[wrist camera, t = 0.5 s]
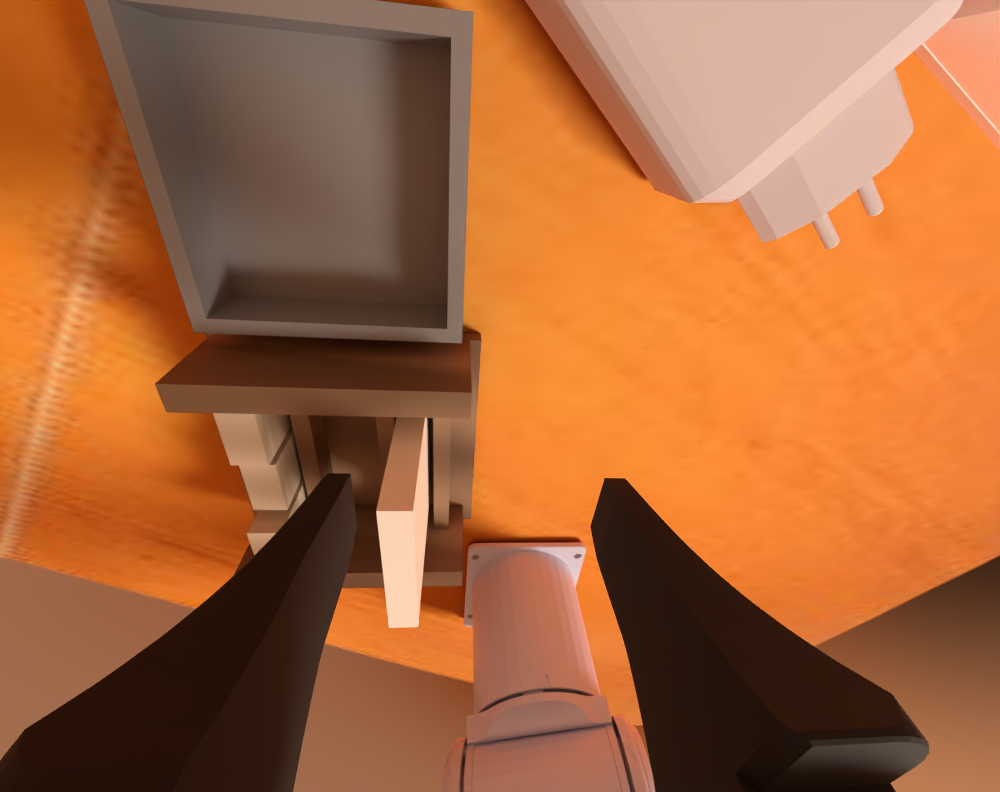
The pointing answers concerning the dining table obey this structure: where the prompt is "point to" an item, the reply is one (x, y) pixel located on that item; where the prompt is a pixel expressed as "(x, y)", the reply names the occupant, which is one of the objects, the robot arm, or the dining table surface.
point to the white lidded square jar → (970, 62)
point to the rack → (352, 422)
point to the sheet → (405, 519)
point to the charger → (751, 95)
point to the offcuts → (265, 468)
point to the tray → (302, 159)
